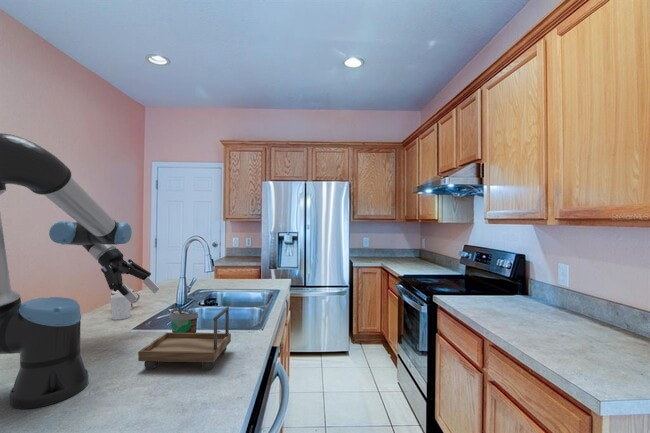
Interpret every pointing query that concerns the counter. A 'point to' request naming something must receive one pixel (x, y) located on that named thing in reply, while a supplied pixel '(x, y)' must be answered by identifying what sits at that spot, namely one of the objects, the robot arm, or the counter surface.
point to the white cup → (120, 307)
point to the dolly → (188, 346)
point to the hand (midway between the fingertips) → (146, 295)
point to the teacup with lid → (132, 291)
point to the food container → (183, 321)
